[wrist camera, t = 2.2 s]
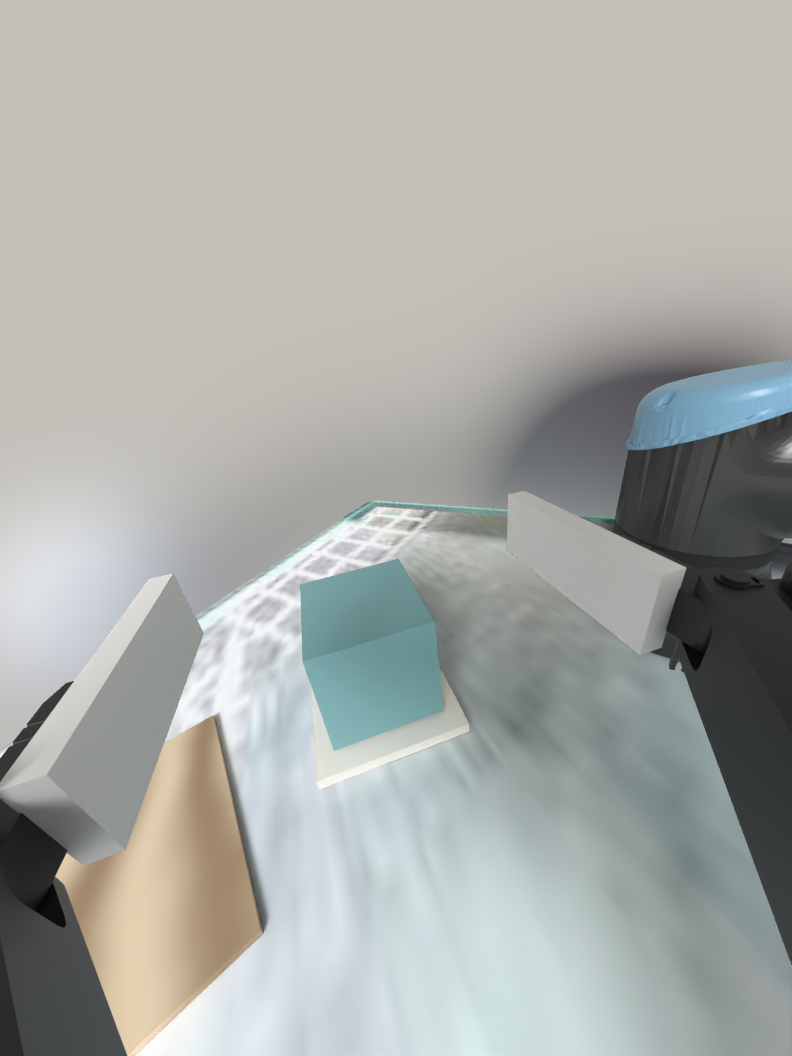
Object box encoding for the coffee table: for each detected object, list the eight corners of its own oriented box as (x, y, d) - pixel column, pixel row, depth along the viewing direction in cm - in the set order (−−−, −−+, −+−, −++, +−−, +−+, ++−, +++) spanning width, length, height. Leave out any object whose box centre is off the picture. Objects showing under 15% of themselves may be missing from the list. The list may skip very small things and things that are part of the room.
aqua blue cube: (409, 635, 34) (398, 558, 30) (443, 710, 27) (435, 621, 22) (324, 661, 33) (300, 584, 29) (333, 751, 25) (302, 661, 21)
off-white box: (419, 631, 37) (409, 554, 32) (469, 731, 26) (465, 638, 22) (311, 664, 34) (285, 586, 30) (319, 789, 24) (281, 698, 19)
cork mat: (215, 718, 30) (213, 715, 30) (263, 933, 18) (260, 930, 18) (-37, 867, 22) (-42, 864, 22) (-252, 1421, 10) (-268, 1427, 10)
